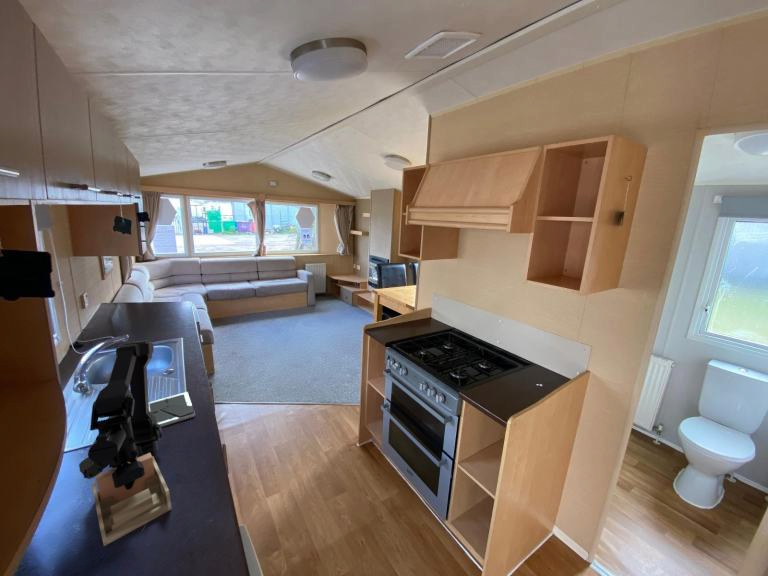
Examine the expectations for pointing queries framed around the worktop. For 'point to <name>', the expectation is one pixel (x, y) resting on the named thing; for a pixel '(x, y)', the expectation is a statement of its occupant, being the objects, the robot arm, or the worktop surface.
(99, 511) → the rack
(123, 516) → the offcut upper
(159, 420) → the picture frame
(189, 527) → the worktop surface
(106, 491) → the orange tan rectangular slab
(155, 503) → the offcut lower
